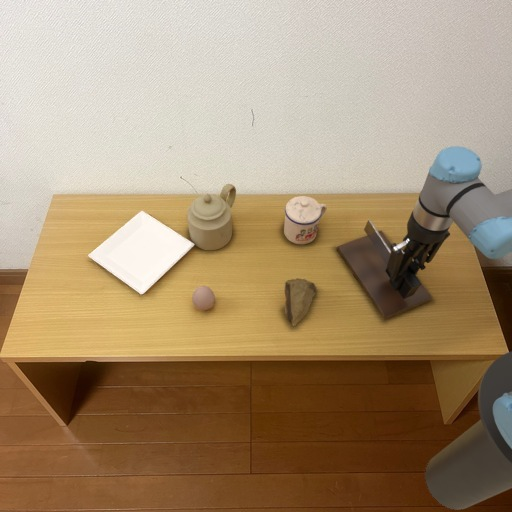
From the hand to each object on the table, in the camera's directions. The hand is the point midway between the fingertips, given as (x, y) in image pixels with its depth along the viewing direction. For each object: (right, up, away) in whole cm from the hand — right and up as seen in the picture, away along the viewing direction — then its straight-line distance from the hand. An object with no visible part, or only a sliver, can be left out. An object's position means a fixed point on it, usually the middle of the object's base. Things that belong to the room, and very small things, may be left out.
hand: (399, 283), depth 111 cm
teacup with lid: (-21, +13, +15) cm, 28 cm away
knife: (-3, +5, +3) cm, 6 cm away
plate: (-62, +7, +9) cm, 63 cm away
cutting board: (-2, +2, +7) cm, 7 cm away
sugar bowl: (-45, +13, +15) cm, 49 cm away
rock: (-23, -5, +1) cm, 23 cm away
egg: (-45, -5, +1) cm, 46 cm away
